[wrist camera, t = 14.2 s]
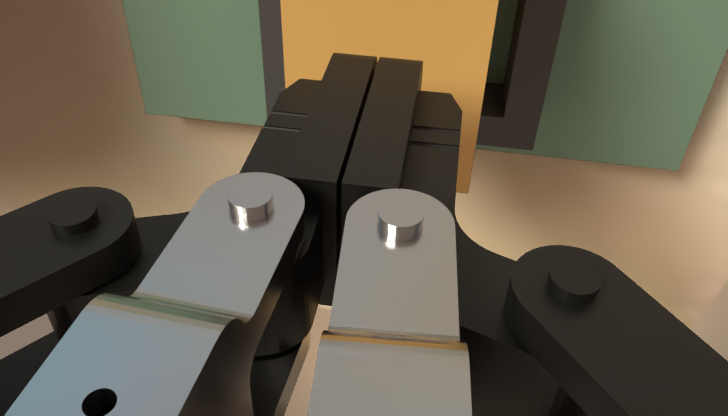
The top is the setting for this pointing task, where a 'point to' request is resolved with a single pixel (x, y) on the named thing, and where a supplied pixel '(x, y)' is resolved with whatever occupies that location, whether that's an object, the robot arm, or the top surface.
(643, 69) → the board
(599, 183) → the top surface
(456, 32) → the keyed plug
